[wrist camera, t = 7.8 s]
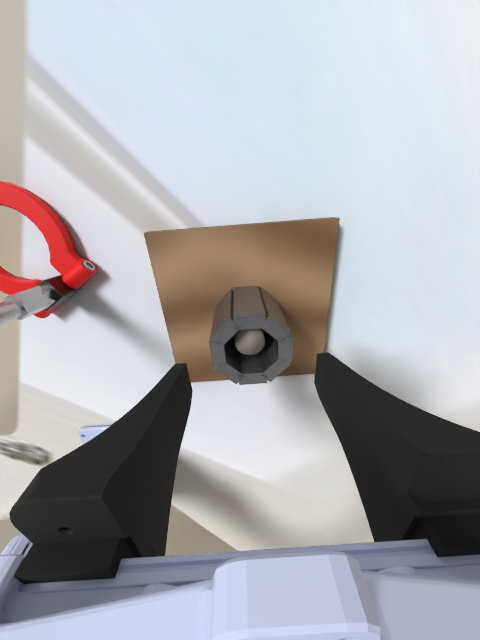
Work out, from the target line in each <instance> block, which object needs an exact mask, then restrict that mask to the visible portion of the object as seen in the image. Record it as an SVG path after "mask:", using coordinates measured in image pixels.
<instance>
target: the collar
mask: <svg viewBox="0 0 480 640" xmlns="http://www.w3.org/2000/svg"><path fill="white" fill-rule="evenodd" d="M260 328H262V331H263V335H264V340H265V344H264V347H263V349H262V350H261V351H260V352H258V353H256V354H253V355H246V354H243V353H241V352H239V351H238V349H237V348H236V346H235V333H236V332H237V331H238V330H245V329H260ZM209 346H210V353H211V359H212V366H213V367H215V369H214V370H216V371H217V372H219V373H220V374H222V375H223V376H225V377H226V378H228V379H229V380H231V381H233V382H234V383H236V384H237V383H238V382H239V385H243V384H258V383H267V380H268V381H272V380H273V379H274V378H275V377H276V376H278V375H279V374H280V373H281V372H282V371H283V370H285V369H286V368H287V367H288V366H289V365H290V362H292V350H293V336H292V333H291V331H290V329H289V327H288V325H287V322H286V320H285V318H284V316H283V314H282V311H281V309H280V307H279V305H278V302H277V301H276V300H275V299H274V298H273V297H272V296H271V295H270V294H268V293H267V292H266V291H265V290H264V289H263V288H261V287H259V288H258V286H257V285H256V286H242V287H234V290H233V289H230V290H229V291H228V292H227V294H226V295H225V296H224V297H223V298H222V299H221V300H220V301H219V303H218V304H217V305H216V308H215V313H214V319H213V324H212V329H211V335H210V340H209Z"/></svg>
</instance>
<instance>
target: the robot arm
mask: <svg viewBox="0 0 480 640" xmlns="http://www.w3.org/2000/svg"><path fill="white" fill-rule="evenodd" d="M314 383H315V386H316V389H317V392H318V395H319V398H320V400H321V403H322V405H323V407H324V409H325V411H326V413H327V415H328V417H329V419H330V421H331V423H332V425H333V427H334V429H335V431H336V433H337V435H338V438H339V440H340V442H341V444H342V447H343V449H344V452H345V455H346V457H347V460H348V463H349V465H350V468H351V471H352V474H353V477H354V480H355V482H356V485H357V488H358V491H359V494H360V497H361V500H362V503H363V506H364V509H365V513H366V516H367V519H368V522H369V525H370V529H371V532H372V535H373V539H374V542H372V543H356V544H341V545H326V546H311V547H296V548H280V549H265V550H250V551H235V552H219V553H205V554H191V555H190V554H189V555H174V556H165V550H166V540H167V531H168V523H169V515H170V507H171V499H172V492H173V486H174V479H175V472H176V466H177V460H178V455H179V450H180V446H181V442H182V438H183V435H184V431H185V427H186V423H187V419H188V415H189V411H190V406H191V399H192V387H191V382H190V378H189V373H188V368H187V364H186V363H179V364H175V365H174V366H173V367H172V368H171V369H170V370H169V371H168V372H167V374H166V375H165V376H164V377H163V378H162V379H161V380H160V381H159V382H158V384H157V385H156V386H155V387H154V388H153V389H152V390H151V391H150V392H149V393H148V394H147V395H146V396H145V397H144V398H143V399H142V400H141V401H140V402H139V403H138V404H137V405H136V406H134V407H133V408H132V409H131V410H130V411H129V412H127V413H126V414H125V415H124V416H123V417H121V418H120V419H119V420H118V421H116V422H115V423H114V424H112V425H111V426H98V427H83V428H80V429H79V430H78V434H79V436H80V437H81V439H82V441H83V442H84V444H83V445H82V446H80V447H79V448H77V449H75V450H74V451H72V452H70V453H69V454H67V455H65V456H63V457H62V458H60V459H58V460H56V461H55V462H53V463H51V464H49V465H47V466H46V467H44V468H42V469H41V470H40V471H39V472H38V473H37V475H36V476H35V477H34V479H33V480H32V482H31V483H30V484H29V486H28V487H27V488H26V490H25V491H24V492H23V494H22V495H21V496H20V498H19V499H18V500H17V502H16V503H15V504H14V506H13V507H12V509H11V511H10V513H9V514H10V519H11V522H12V523H13V525H14V526H15V527H16V528H17V529H18V530H19V531H20V532H21V533H22V534H20V535H18V536H16V537H14V538H13V539H12V540H11V541H10V542H9V544H8V545H7V546H6V548H5V549H4V551H3V552H2V553H1V555H0V640H480V432H478V431H475V430H472V429H469V428H466V427H463V426H460V425H458V424H455V423H453V422H450V421H447V420H445V419H442V418H440V417H437V416H435V415H433V414H430V413H428V412H426V411H423V410H421V409H419V408H417V407H415V406H413V405H411V404H408V403H406V402H404V401H402V400H401V399H399V398H397V397H395V396H393V395H391V394H389V393H388V392H386V391H384V390H382V389H381V388H379V387H377V386H376V385H374V384H373V383H371V382H369V381H368V380H366V379H365V378H363V377H362V376H360V375H359V374H357V373H356V372H355V371H353V370H352V369H350V368H349V367H348V366H346V365H345V364H343V363H342V362H341V361H339V360H338V359H337V358H335V357H334V356H333V355H331V354H330V353H317V360H316V370H315V380H314Z"/></svg>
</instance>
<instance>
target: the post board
mask: <svg viewBox="0 0 480 640" xmlns="http://www.w3.org/2000/svg"><path fill="white" fill-rule="evenodd" d="M338 227H339V218H335V217H331V218H318V219H305V220H292V221H279V222H267V223H254V224H241V225H228V226H215V227H202V228H190V229H177V230H164V231H151V232H146V233H144V236H145V240H146V245H147V249H148V253H149V257H150V261H151V265H152V269H153V273H154V277H155V281H156V285H157V289H158V293H159V297H160V302H161V306H162V310H163V314H164V318H165V322H166V326H167V330H168V334H169V338H170V342H171V346H172V350H173V354H174V358H175V363H176V364H179V363H186V364H187V368H188V373H189V378H190V382H201V381H216V380H229V379H228V378H226V377H225V376H223V375H222V374H220V373H219V372H217V371H216V370H214V369H215V367H213V366H212V359H211V353H210V346H209V340H210V335H211V329H212V324H213V319H214V313H215V308H216V305H217V304H218V303H219V301H220V300H221V299H222V298H223V297H224V296H225V295H226V294H227V292H228V291H229V290H230V289H233V290H234V287H242V286H256V285H257V286H258V288H259V287H261V288H263V289H264V290H265V291H266V292H267V293H268V294H270V295H271V296H272V297H273V298H274V299H275V300H276V301H277V302H278V305H279V307H280V309H281V311H282V314H283V316H284V318H285V320H286V322H287V325H288V327H289V329H290V331H291V333H292V336H293V350H292V362H290V365H289V366H288V367H287V368H286V369H285V370H283V371H282V372H281V373H280V374H279V375H278V376H288V375H302V374H315V370H316V360H317V353H324V347H325V338H326V330H327V321H328V313H329V304H330V295H331V287H332V278H333V270H334V261H335V252H336V244H337V235H338ZM264 344H265V340H264V335H263V331H262V328H260V329H245V330H238V331H237V332H236V333H235V346H236V348H237V349H238V351H239V352H241V353H243V354H246V355H253V354H256V353H258V352H260V351H261V350H262V349H263V347H264Z"/></svg>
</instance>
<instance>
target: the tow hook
mask: <svg viewBox="0 0 480 640" xmlns="http://www.w3.org/2000/svg"><path fill="white" fill-rule="evenodd" d="M0 205H4V206H7V207H10V208H13V209H15V210H18V211H19V212H21V213H22V214H24V215H25V216H27V217H28V218H29V219H30V220H31V221H32V222H33V223H34V224H35V225H36V226H37V227H38V228H39V230H40V231H41V232H42V234H43V235H44V237H45V239H46V242H47V244H48V247H49V251H50V263H51V265H52V266H53V267H54V268H55V269H56V270H57V271H58V272H59V273H60V274H62V275H59V276H56V277H53V278H50V279H47V280H44V281H43V282H42V281H41V280H38V279H35V280H31V279H23V278H20V277H17V276H14V275H12V274H11V273H9V272H7V271H6V270H4V269H3V268H2V267H1V266H0V291H2V292H4V293H6V294H9V295H10V296H7V297H6V298H5V299H4V300H3V301H2V302H1V303H0V325H2V324H4V323H7V322H9V321H11V320H14V319H18V320H22V319H24V318H27V317H29V316H31V315H35V316H37V317H39V318H46V317H48V316H49V315H50V314H51V313H52V312H53V311H54V310H55V309H57V308H58V307H59V306H60V305H61V304H63V303H65V302H66V301H67V300H69V299H70V298H71V297H72V296H73V295H74V294H75V293H76V292H78V291H79V290H80V288H81V286H82V285H83V284H84V283H85V282H87V281H88V280H89V279H90V278H91V277H92V276H93V275H94V274H95V273H97V271H98V270H97V267H96V266H95V265H94V264H93V263H92V262H91V261H89V260H88V259H84V258H81V257H80V256H79V255H78V254H77V253H76V252H75V249H74V244H73V241H72V239H71V237H70V234H69V232H68V230H67V228H66V226H65V225H64V223H63V222H62V221H61V219H60V218H59V216H58V215H57V213H56V212H55V211H54V210H53V209H52V208H51V207H49V206H48V205H47V204H46V203H45V202H44V201H43V200H42V199H41V198H39V197H38V196H36V195H34V194H33V193H31V192H30V191H28V190H27V189H24V188H22V187H19V186H17V185H14V184H11V183H8V182H2V181H0Z"/></svg>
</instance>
